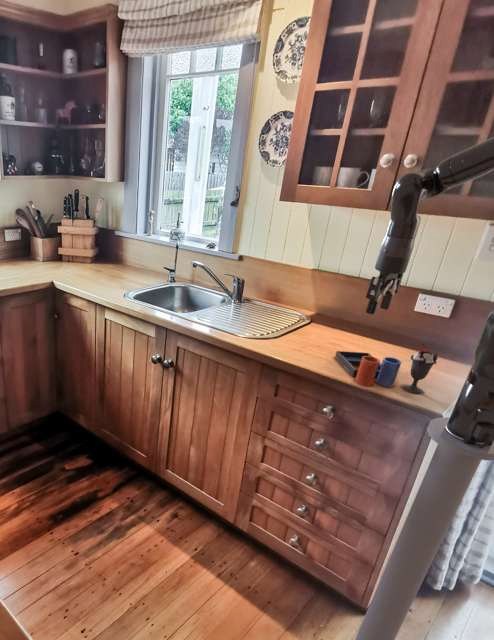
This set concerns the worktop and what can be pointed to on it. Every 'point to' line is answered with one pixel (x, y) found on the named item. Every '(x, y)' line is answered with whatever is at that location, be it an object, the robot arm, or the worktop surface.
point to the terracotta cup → (367, 370)
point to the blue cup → (388, 372)
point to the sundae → (420, 368)
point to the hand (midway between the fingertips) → (377, 311)
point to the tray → (352, 361)
